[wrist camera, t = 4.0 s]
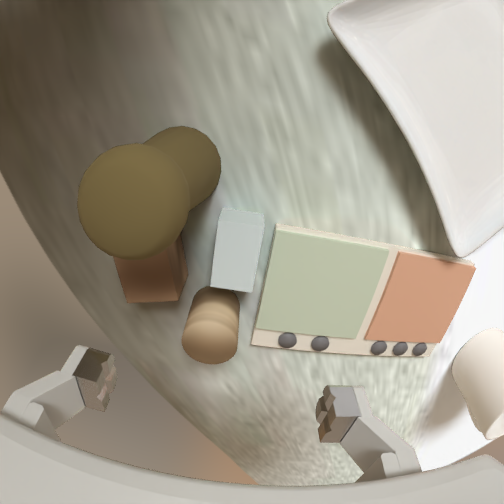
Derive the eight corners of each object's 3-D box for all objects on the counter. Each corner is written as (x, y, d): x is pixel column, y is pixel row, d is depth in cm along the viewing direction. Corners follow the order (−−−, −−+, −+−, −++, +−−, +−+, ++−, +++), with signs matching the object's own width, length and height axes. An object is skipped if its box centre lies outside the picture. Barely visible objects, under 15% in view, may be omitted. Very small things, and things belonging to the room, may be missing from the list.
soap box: (222, 206, 23) (218, 219, 20) (263, 212, 23) (264, 226, 20) (214, 267, 25) (210, 286, 22) (252, 272, 25) (252, 292, 22)
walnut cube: (131, 232, 24) (112, 253, 20) (179, 227, 24) (165, 248, 20) (143, 276, 25) (127, 303, 22) (188, 273, 25) (178, 300, 21)
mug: (433, 401, 33) (460, 463, 23) (462, 332, 28) (508, 399, 18) (480, 386, 32) (510, 440, 23) (511, 319, 27) (557, 374, 18)
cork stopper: (194, 281, 25) (182, 317, 21) (243, 289, 26) (241, 327, 21) (191, 320, 27) (180, 359, 22) (236, 327, 27) (233, 367, 23)
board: (275, 223, 23) (276, 228, 22) (470, 260, 24) (476, 266, 23) (251, 338, 28) (251, 347, 27) (426, 351, 29) (430, 358, 28)
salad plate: (309, 26, 17) (318, 12, 14) (476, -39, 12) (495, -48, 9) (440, 249, 24) (459, 267, 21) (561, 144, 19) (581, 151, 16)
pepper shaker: (175, 109, 20) (104, 106, 10) (239, 163, 21) (224, 207, 11) (125, 173, 22) (38, 221, 12) (185, 224, 23) (136, 306, 13)
